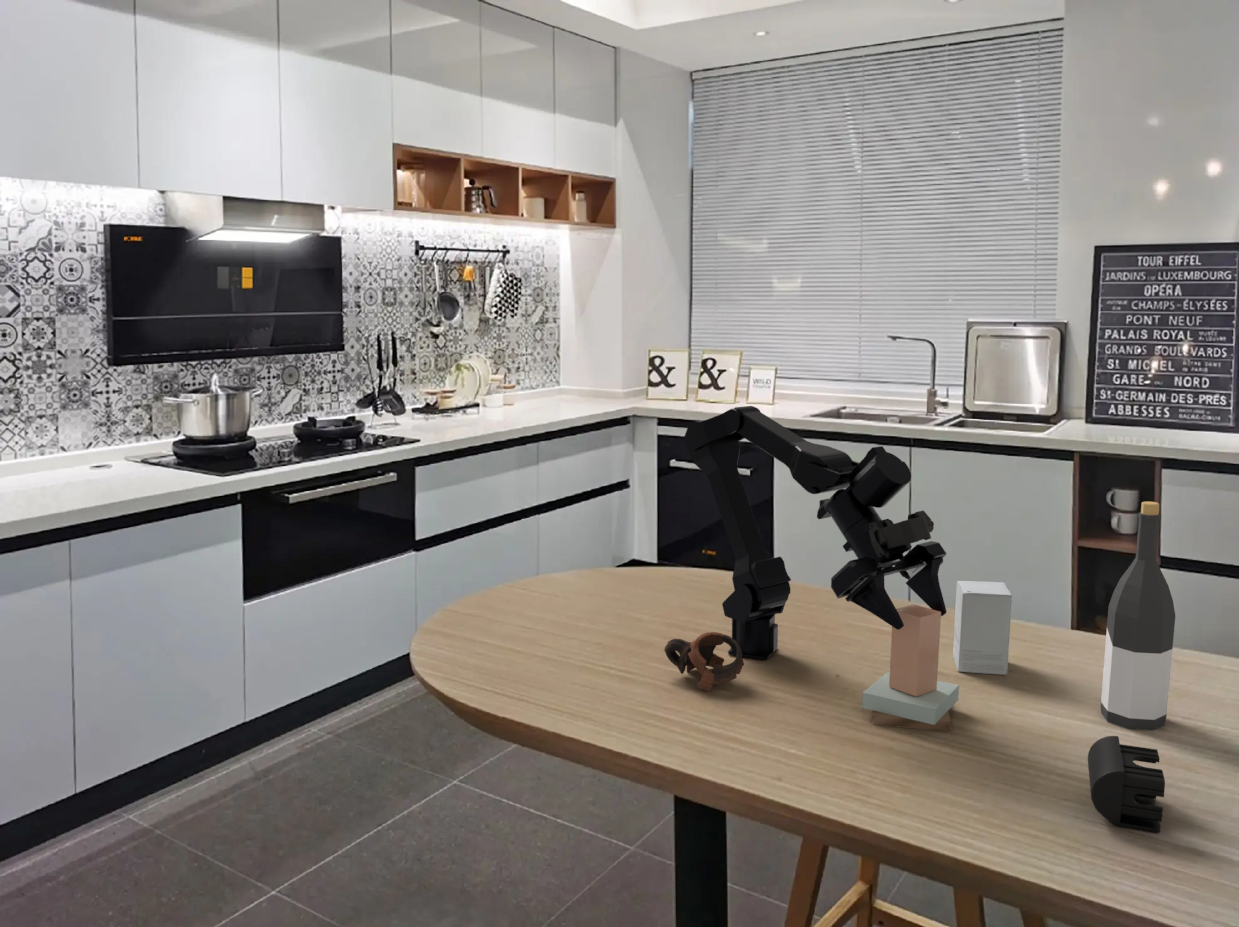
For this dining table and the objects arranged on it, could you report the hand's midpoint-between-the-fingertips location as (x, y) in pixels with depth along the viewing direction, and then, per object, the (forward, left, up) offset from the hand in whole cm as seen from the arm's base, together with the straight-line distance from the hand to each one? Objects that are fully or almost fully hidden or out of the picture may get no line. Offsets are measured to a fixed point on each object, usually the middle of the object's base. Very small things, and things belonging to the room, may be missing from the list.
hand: (922, 621), depth 142 cm
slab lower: (-1, +1, -14) cm, 14 cm away
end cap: (+25, -17, -14) cm, 33 cm away
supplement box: (+6, +24, -14) cm, 28 cm away
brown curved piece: (-32, +1, -14) cm, 35 cm away
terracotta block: (-1, +1, -10) cm, 10 cm away
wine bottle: (+27, +11, -14) cm, 32 cm away
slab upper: (-1, +1, -12) cm, 12 cm away
